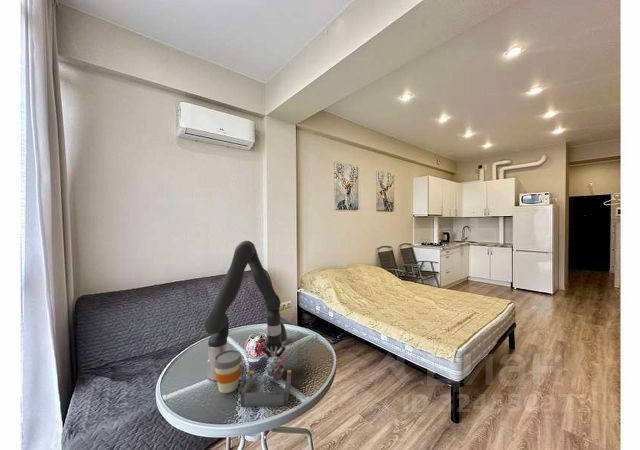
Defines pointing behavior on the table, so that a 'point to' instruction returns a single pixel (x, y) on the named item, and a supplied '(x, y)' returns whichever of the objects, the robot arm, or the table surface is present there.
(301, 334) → the table surface
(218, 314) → the robot arm
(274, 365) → the brake caliper
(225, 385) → the reusable coffee cup
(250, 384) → the cradle
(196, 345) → the table surface
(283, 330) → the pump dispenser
